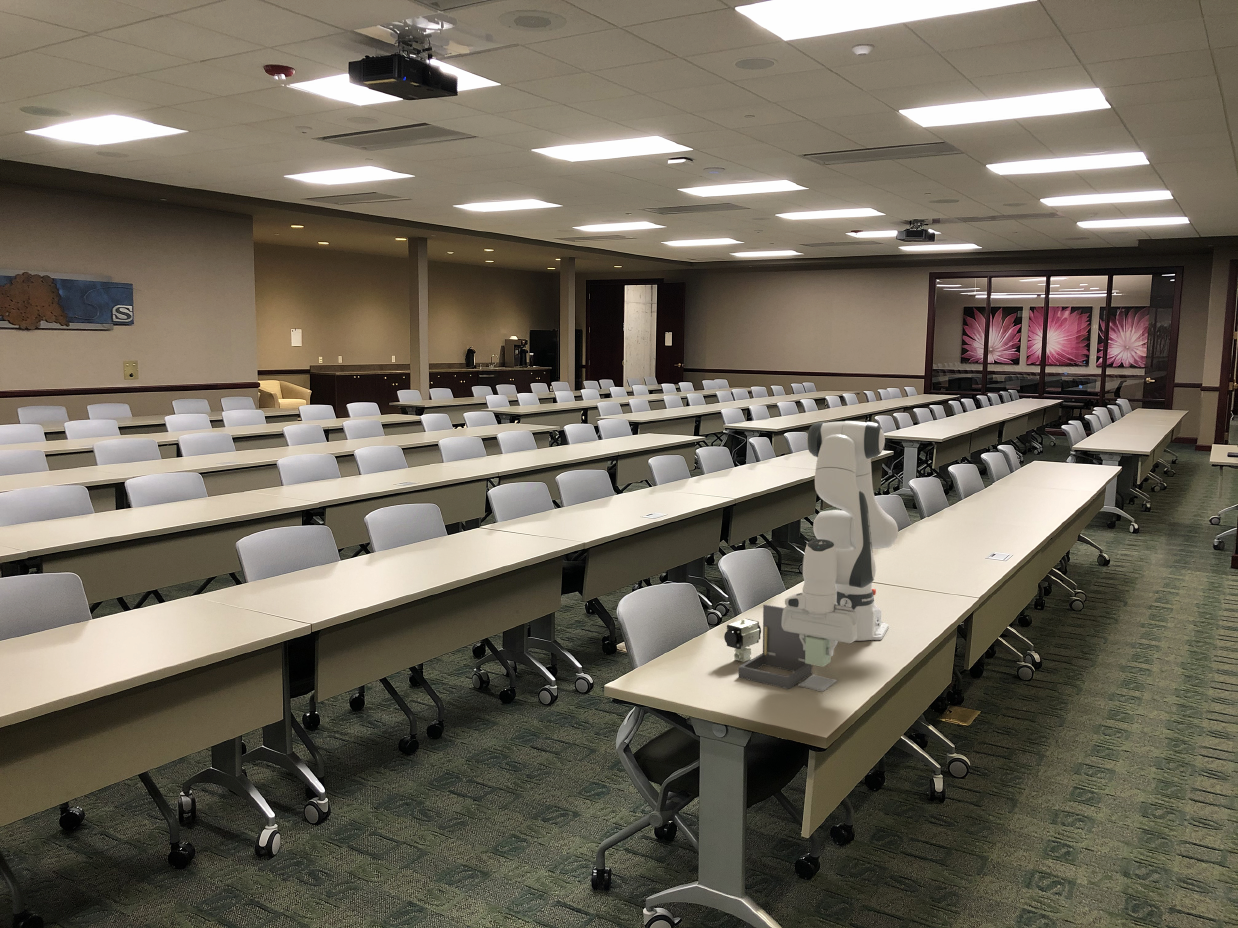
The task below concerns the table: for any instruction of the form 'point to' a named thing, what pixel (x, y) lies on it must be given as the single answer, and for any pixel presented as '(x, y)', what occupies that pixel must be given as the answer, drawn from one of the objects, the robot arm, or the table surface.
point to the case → (777, 653)
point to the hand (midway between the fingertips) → (818, 652)
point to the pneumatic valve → (742, 637)
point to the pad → (817, 683)
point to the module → (817, 651)
